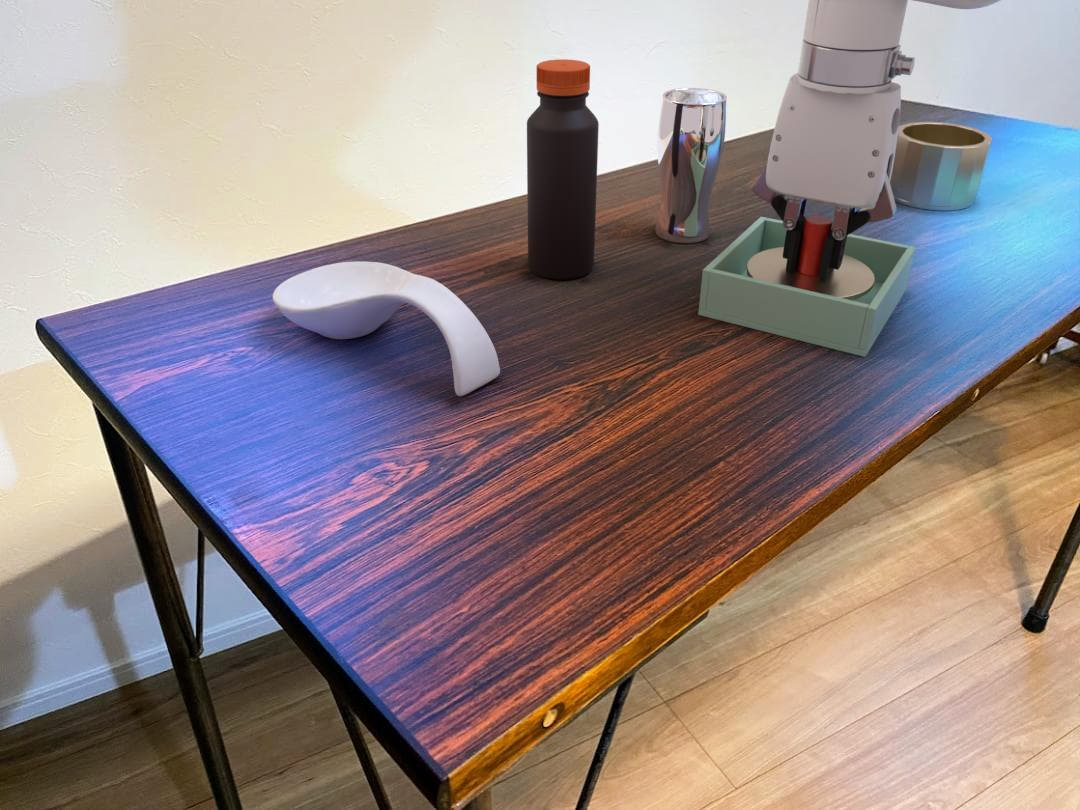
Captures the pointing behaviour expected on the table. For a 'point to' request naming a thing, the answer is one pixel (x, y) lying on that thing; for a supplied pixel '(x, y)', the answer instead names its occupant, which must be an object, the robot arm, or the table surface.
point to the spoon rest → (387, 311)
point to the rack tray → (805, 292)
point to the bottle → (562, 172)
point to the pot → (938, 165)
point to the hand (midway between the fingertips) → (810, 269)
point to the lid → (813, 266)
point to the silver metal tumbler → (689, 161)
